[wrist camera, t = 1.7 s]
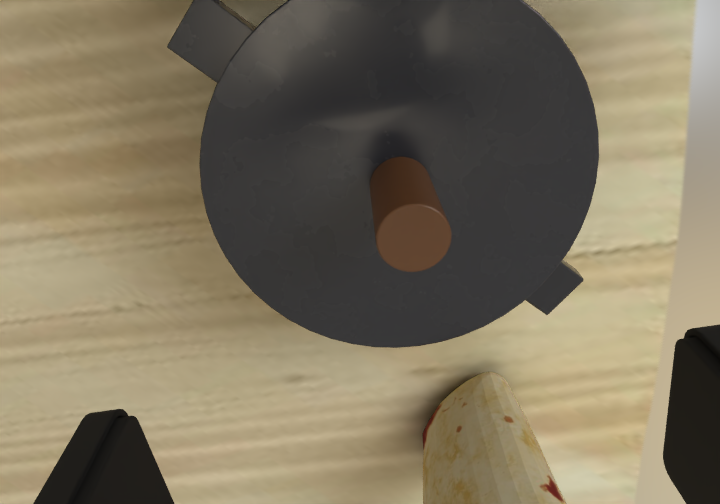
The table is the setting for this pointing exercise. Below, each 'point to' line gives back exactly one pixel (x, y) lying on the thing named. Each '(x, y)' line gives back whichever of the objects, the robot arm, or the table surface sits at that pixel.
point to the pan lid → (398, 164)
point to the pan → (219, 44)
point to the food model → (484, 450)
